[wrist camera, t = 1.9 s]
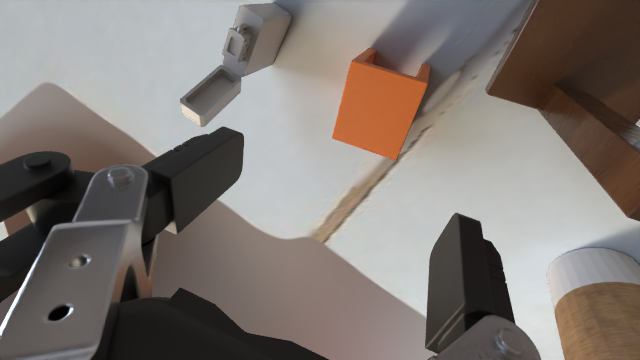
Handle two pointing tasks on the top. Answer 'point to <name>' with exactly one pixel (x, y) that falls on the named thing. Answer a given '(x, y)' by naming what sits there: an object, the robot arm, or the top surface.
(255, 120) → the top surface
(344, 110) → the clip
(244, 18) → the lighter
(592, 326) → the coffee cup
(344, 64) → the top surface
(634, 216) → the handle stand
